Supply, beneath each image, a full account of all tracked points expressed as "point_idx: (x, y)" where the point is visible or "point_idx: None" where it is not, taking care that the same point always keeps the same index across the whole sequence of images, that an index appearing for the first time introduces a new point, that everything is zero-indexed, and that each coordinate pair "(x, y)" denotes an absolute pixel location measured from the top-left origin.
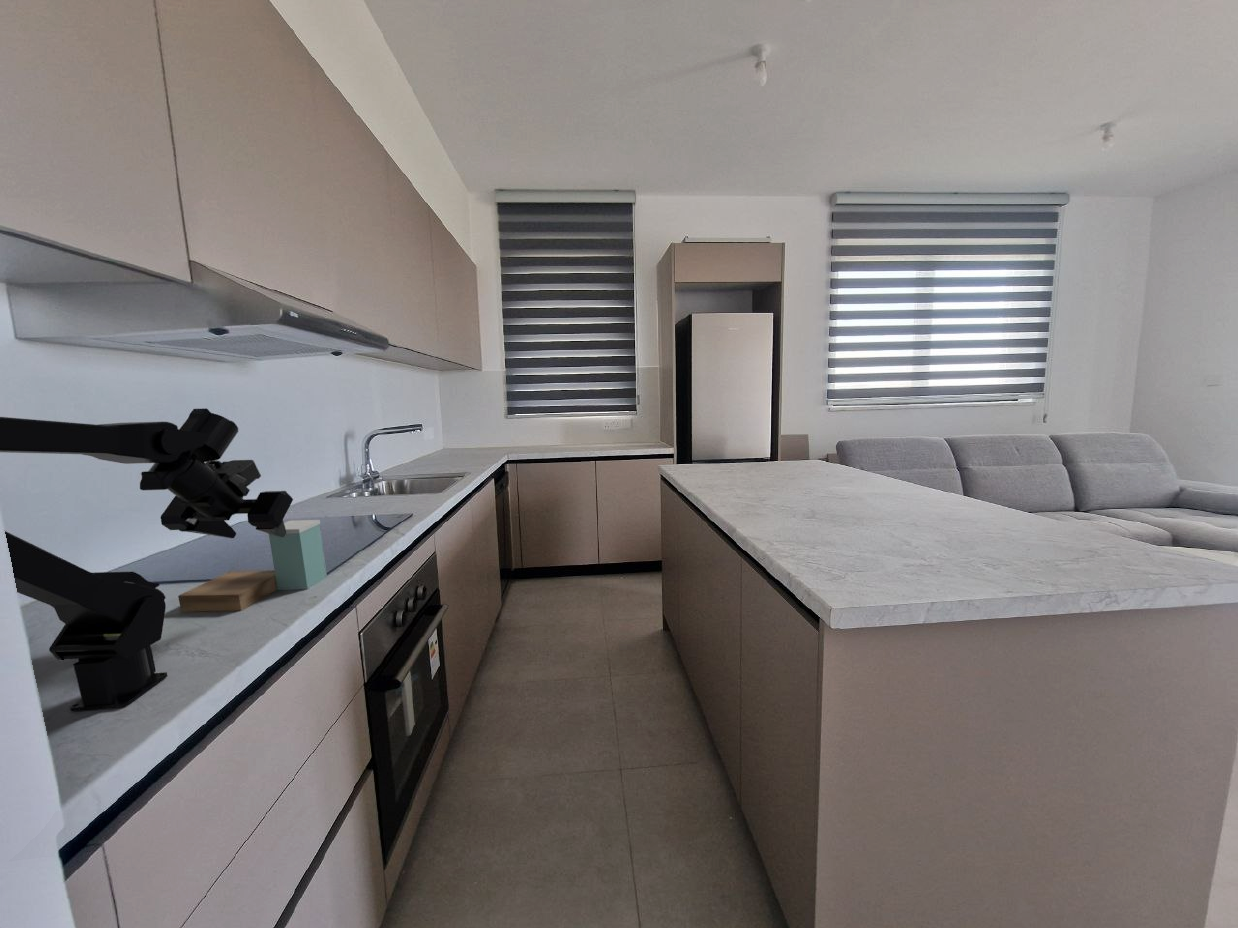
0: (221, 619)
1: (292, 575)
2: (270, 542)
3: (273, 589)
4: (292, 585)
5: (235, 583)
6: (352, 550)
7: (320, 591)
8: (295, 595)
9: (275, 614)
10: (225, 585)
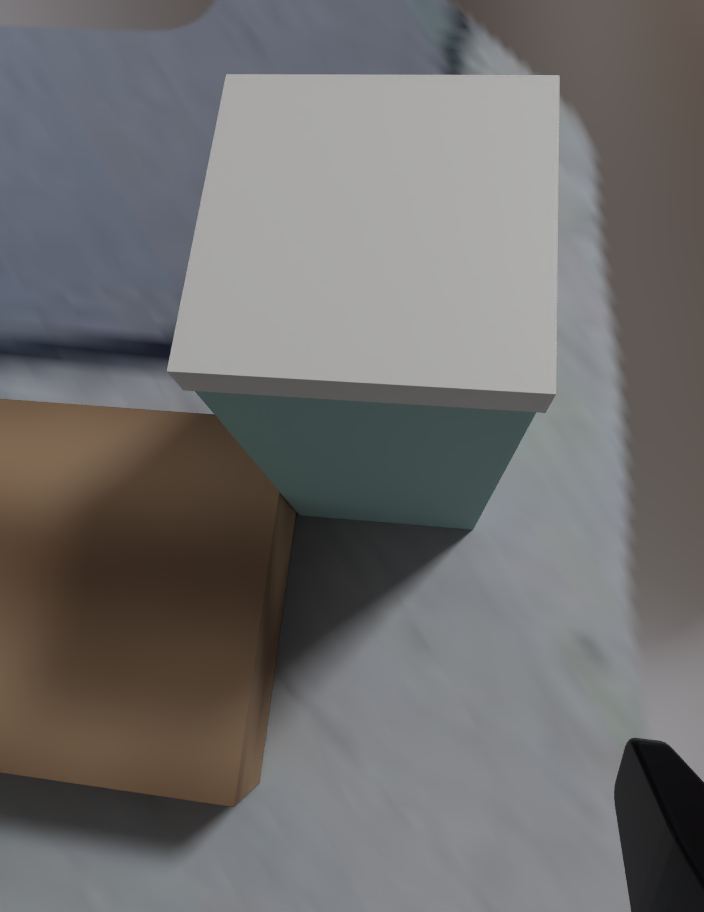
0: (216, 894)
1: (394, 505)
2: (223, 420)
3: (290, 535)
4: (385, 517)
5: (107, 602)
6: (409, 37)
7: (573, 574)
8: (453, 611)
9: (499, 880)
10: (63, 627)
